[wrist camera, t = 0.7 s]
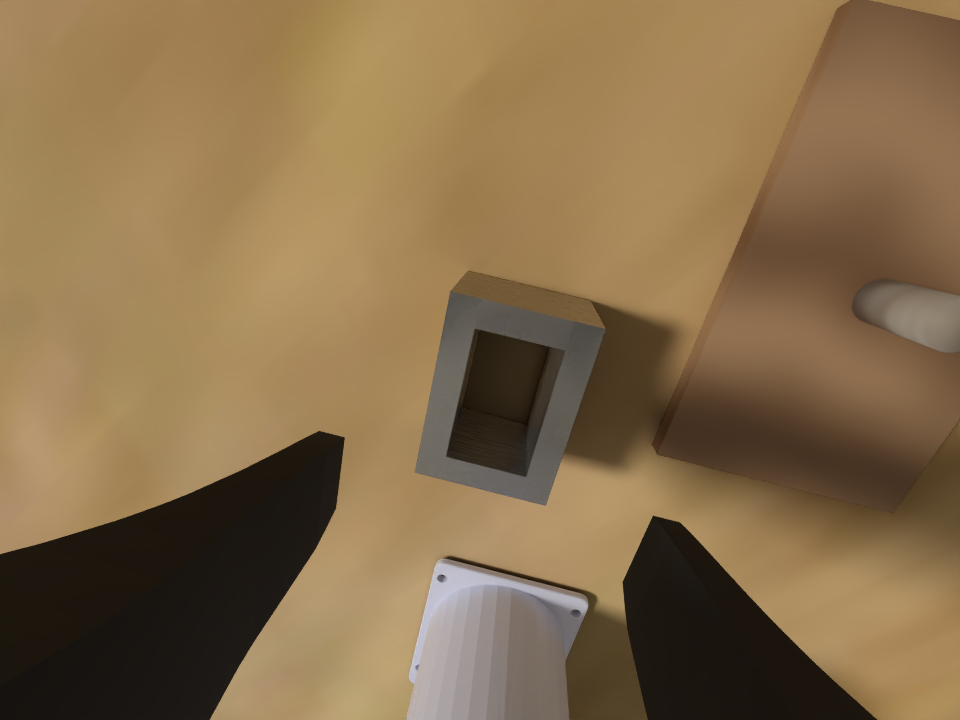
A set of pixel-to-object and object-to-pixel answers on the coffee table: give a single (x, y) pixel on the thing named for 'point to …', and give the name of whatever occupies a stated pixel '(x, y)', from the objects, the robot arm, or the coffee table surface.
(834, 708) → the robot arm
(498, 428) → the steel link
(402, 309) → the coffee table surface
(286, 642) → the coffee table surface
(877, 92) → the keeper board
